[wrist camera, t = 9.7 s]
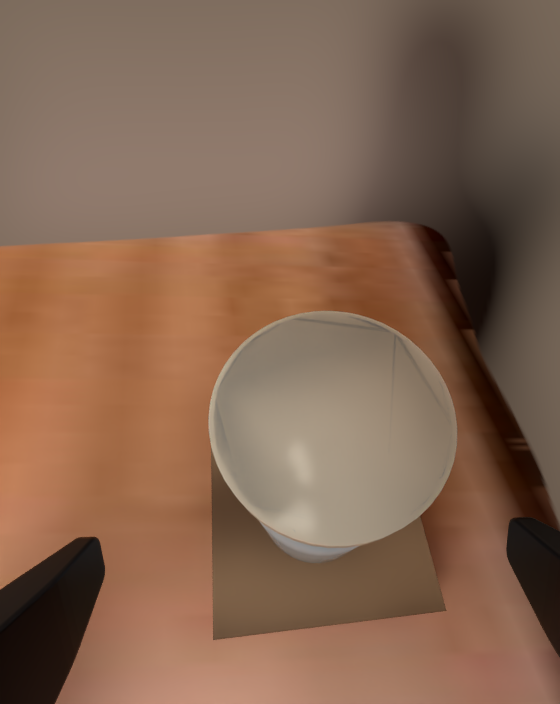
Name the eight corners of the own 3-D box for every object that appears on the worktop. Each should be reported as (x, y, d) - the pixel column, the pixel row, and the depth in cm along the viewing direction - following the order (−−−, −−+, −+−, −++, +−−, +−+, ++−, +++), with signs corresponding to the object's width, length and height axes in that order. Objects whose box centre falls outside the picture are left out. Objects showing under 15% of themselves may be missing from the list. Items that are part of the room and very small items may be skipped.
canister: (379, 560, 17) (496, 532, 7) (261, 570, 17) (204, 556, 7) (358, 444, 20) (419, 302, 10) (256, 453, 20) (211, 319, 10)
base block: (426, 606, 19) (446, 610, 16) (225, 631, 19) (213, 639, 16) (378, 417, 24) (387, 397, 21) (220, 435, 24) (210, 418, 21)
